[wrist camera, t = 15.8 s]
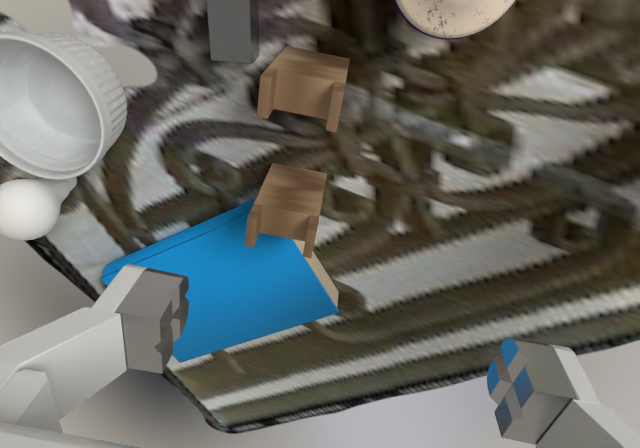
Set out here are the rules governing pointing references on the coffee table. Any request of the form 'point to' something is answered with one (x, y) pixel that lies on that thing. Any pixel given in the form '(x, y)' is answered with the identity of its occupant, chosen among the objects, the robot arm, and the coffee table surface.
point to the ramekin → (56, 104)
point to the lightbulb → (31, 206)
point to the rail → (233, 30)
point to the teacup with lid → (452, 16)
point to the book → (236, 282)
